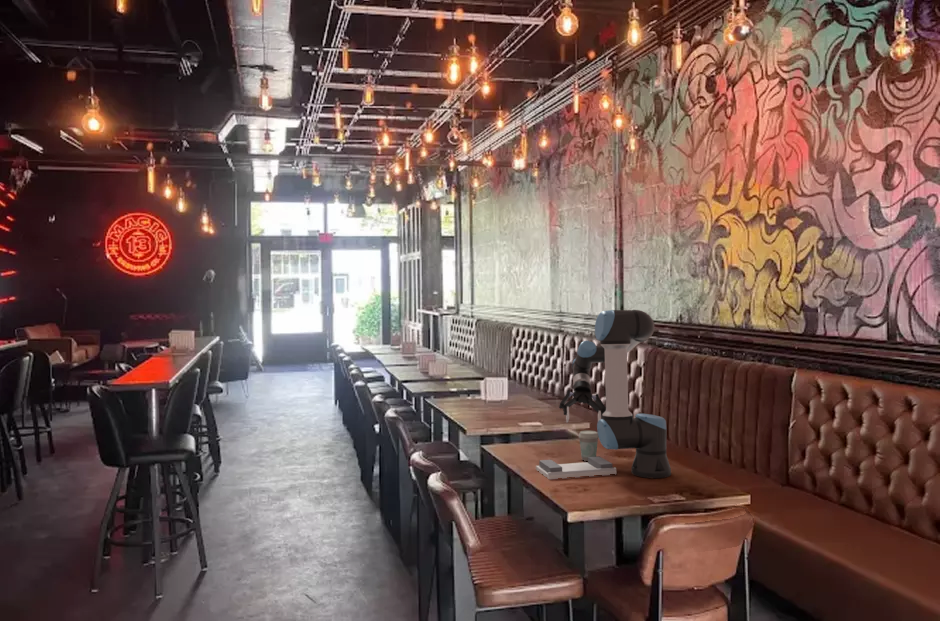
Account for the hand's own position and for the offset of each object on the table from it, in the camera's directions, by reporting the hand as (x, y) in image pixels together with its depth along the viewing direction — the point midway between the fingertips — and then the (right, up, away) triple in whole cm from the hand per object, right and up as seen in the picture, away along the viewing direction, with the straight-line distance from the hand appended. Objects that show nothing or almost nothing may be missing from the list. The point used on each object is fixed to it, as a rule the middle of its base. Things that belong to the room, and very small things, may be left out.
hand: (583, 422), depth 306 cm
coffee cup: (+3, -17, +6) cm, 19 cm away
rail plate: (-5, -18, -13) cm, 23 cm away
